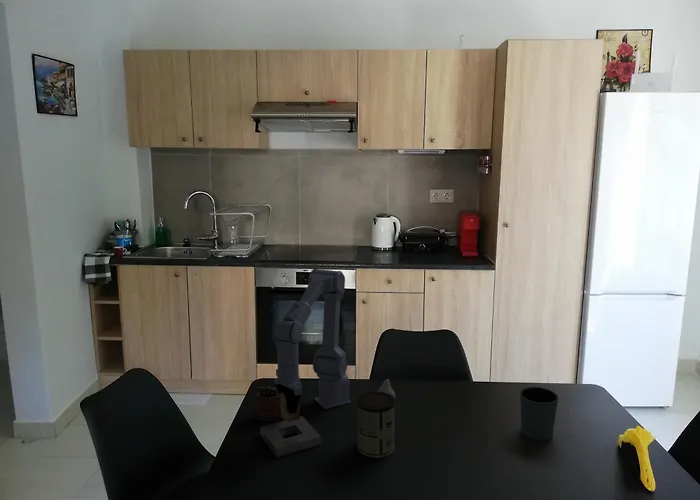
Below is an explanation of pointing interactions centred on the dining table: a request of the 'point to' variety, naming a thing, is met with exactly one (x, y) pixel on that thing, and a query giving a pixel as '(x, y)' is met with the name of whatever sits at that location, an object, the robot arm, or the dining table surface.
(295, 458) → the dining table surface
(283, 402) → the peg
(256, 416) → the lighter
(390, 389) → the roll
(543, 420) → the dark grey cup
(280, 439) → the square hole board
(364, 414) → the coffee can
